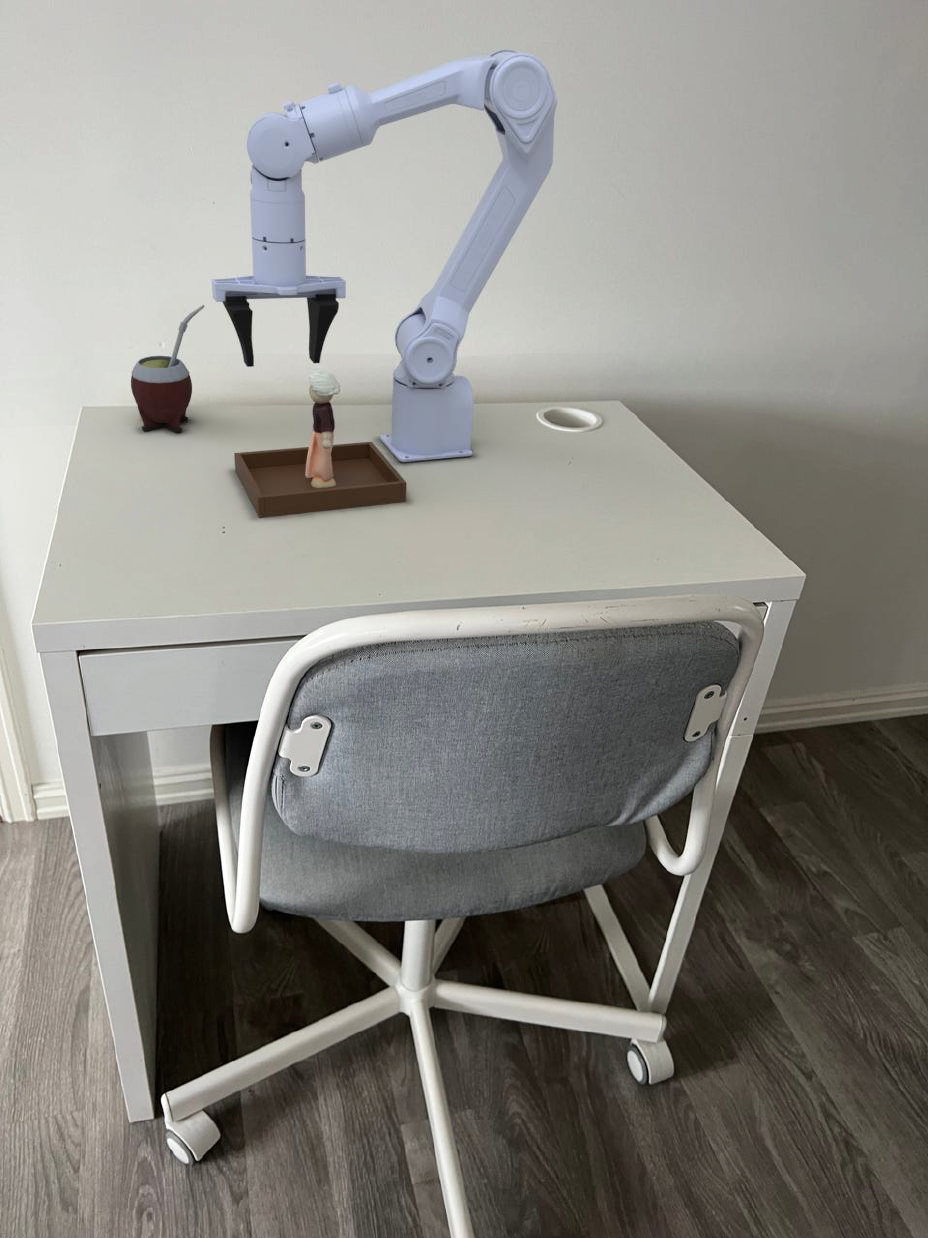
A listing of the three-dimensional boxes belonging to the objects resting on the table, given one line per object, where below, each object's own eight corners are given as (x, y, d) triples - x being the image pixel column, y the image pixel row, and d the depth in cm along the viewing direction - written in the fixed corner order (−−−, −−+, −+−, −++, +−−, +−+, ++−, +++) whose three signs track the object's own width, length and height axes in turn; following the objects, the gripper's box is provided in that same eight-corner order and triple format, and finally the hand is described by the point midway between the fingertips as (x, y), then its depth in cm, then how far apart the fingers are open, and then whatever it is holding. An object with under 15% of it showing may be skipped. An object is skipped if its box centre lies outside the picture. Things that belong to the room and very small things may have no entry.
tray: (371, 459, 116) (371, 441, 115) (405, 501, 107) (406, 482, 106) (235, 471, 110) (234, 452, 109) (258, 517, 101) (258, 497, 100)
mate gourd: (124, 423, 120) (110, 299, 112) (179, 410, 125) (169, 291, 117) (158, 441, 116) (146, 314, 108) (214, 427, 121) (206, 304, 113)
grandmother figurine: (297, 469, 111) (295, 359, 104) (330, 467, 112) (330, 358, 105) (314, 497, 105) (312, 383, 98) (348, 494, 106) (349, 381, 99)
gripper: (217, 246, 99) (225, 376, 106) (354, 245, 104) (352, 369, 111) (205, 232, 105) (213, 357, 112) (335, 232, 110) (335, 351, 117)
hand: (282, 362), depth 112 cm, fingers open, 7 cm apart
